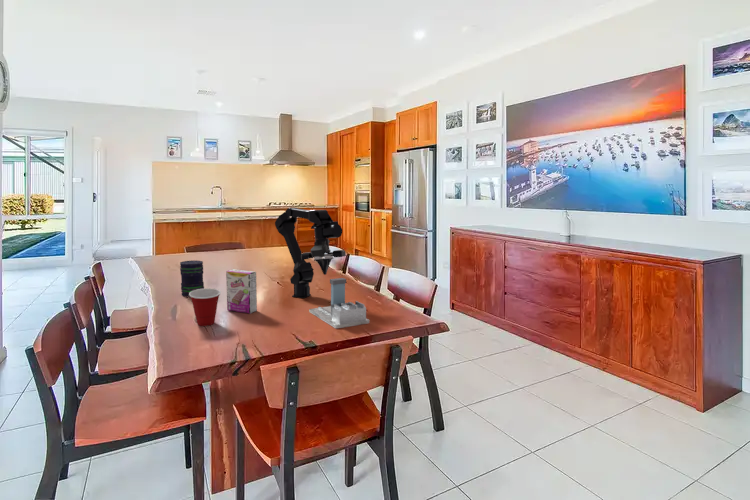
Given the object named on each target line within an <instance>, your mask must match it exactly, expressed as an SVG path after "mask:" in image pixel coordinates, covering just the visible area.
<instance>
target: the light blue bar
mask: <svg viewBox="0 0 750 500" xmlns="http://www.w3.org/2000/svg"><path fill="white" fill-rule="evenodd" d="M329 284H330V306H331V305H333V304H340V303H346V284H347V279H346V278H345V277H339V278H338V277H337V278H330V279H329Z"/></svg>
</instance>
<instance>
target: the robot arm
mask: <svg viewBox="0 0 750 500" xmlns="http://www.w3.org/2000/svg"><path fill="white" fill-rule="evenodd" d="M299 218H300V219H305V220H307V221H309V222H310V223H313V224H312V226H311V227H310V229H311V230H314V231H313V232H314V243H313V244H314V245H313V247H312V248H311V249H310V251H309V252H302V250H301V248H300V244H299V242H298V240H297V238H296V234H295V230H296V226H295V224H296V223H297V221H298V219H299ZM274 226H275V229H276V230H277V232H278V233H279V234H280V235H281V236H282V237H283V238H284V240H285V243H286V246H287V249H288V251H289V254H290V256H291V259H292V261H293V264H294V265H293V270H292V271H293V275H292V276H291V278H290V279H289V280H290V285H293V294H292V296H291V297H293V298H299V299H301V298H302V299H305V298H308V297H310V296H312V295H311V286H310V283H312V282H313V278H314V275H315V272H314V268H313V266H312V263H311V262H310V261H308V262H307V261H306V260H309V259H313V261H314V262H316V263H317V264H318V265H319V267H320V269H321V271H322V274H323V275H324V276H326V275H327V273H328V271H329V267H330V264H331V262H332V260H334V259H335V258H343V257H346V255H347V254H346V250H344V249H337V250H336V249H335V250H333V251H331V249H330V240H329V239H336V238H338V239H339V238H341V236H342V234H343V228H342V225H340V224H339V221H334V220H333V219H332V217H331V215H330V214H329V213H328V210H327V209H313V210H312V209H310V210H309V209H303V208H297V207H288V208H286V210H285V211H284V212H283V213H281V214H280V215H279V216H278V217H277V218H276V219H275V222H274Z"/></svg>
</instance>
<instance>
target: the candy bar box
mask: <svg viewBox="0 0 750 500" xmlns="http://www.w3.org/2000/svg"><path fill="white" fill-rule="evenodd" d="M225 275H226V277H225V278H226V305H227V307H226V308H227V311H229V312H235V313H236V312H237V313H243V314H244V313H245V314H253V313H254V312H257V310H258V300H257V292H258V291H257V271H253V270H243V269H234V268H233V269H229V270H226V274H225Z"/></svg>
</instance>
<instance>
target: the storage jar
mask: <svg viewBox="0 0 750 500" xmlns="http://www.w3.org/2000/svg"><path fill="white" fill-rule="evenodd" d="M179 270H180V276H181V283H180V290H181V296H182V297H187V298H188V297H189V298H191V297H190V296H189V292H191V291H193V290H197V289H205V282H204V261H203V260H184V261H180V262H179Z"/></svg>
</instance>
